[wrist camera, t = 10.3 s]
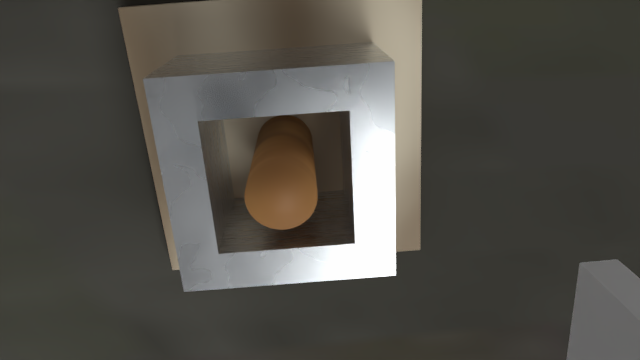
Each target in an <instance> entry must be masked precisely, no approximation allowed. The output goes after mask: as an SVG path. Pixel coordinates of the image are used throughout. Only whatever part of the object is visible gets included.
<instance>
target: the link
mask: <svg viewBox="0 0 640 360" xmlns="http://www.w3.org/2000/svg"><path fill="white" fill-rule="evenodd" d="M143 83H144V88H145V93H146V98H147V103H148V108H149V114H150V119H151V124H152V129H153V134H154V139H155V145H156V150H157V155H158V160H159V165H160V170H161V175H162V181H163V186H164V191H165V196H166V201H167V206H168V211H169V217H170V222H171V227H172V232H173V237H174V242H175V247H176V253H177V258H178V263H179V268H180V273H181V278H182V284H183V289H184V292H187V291H200V290H213V289H226V288H239V287H252V286H265V285H278V284H291V283H304V282H317V281H330V280H343V279H356V278H369V277H382V276H394V275H396V203H395V61H394V60H393V59H392V58H390V57H389V56H388V55H387V54H386V53H385V52H384V51H382V50H381V49H380V48H379V47H378V46H377V45H376V44H374V43H373V42H365V43H350V44H336V45H322V46H307V47H293V48H279V49H264V50H250V51H236V52H221V53H207V54H193V55H178V56H176V57H174V58H173V59H171V60H170V61H168V62H167V63H166V64H164V65H163V66H161V67H160V68H158V69H157V70H155V71H154V72H152V73H151V74H149V75H148V76H146V77H145V78H143ZM335 111H340V131H341V152H342V172H343V190H337V191H323V192H317V194H318V199H317V205H316V208H315V210H314V212H313V213H312V215H311V216H310V217H309V219H307V220H306V221H305V222H304V223H302V224H301V225H299V226H297V227H294V228H291V229H285V230H278V229H272V228H268V227H266V226H264V225H262V224H260V223H259V222H257V221H256V220H255V219H254V218H253V217H252V216H251V214H250V213H249V211H248V209H247V207H246V204H245V197H242V198H234V193H233V186H232V179H231V171H230V164H229V157H228V150H227V143H226V135H225V128H224V121H223V120H224V119H238V118H251V117H265V116H279V115H293V114H307V113H321V112H335Z"/></svg>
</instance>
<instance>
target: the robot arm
mask: <svg viewBox="0 0 640 360" xmlns="http://www.w3.org/2000/svg"><path fill="white" fill-rule="evenodd" d="M567 360H640V278H639V277H638V276H636V275H635V274H634V273H633V272H632V271H630V270H629V269H628V268H627V267H626V266H624V265H623V264H622V263H621V262H620V261H619V260H617V259H616V260H605V261H594V262H583V263H580V264H579V272H578V279H577V287H576V294H575V301H574V309H573V316H572V323H571V331H570V338H569V345H568V353H567Z"/></svg>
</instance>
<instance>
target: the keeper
mask: <svg viewBox="0 0 640 360" xmlns="http://www.w3.org/2000/svg"><path fill="white" fill-rule="evenodd" d="M118 11H119V16H120V21H121V25H122V30H123V35H124V40H125V45H126V49H127V54H128V59H129V64H130V69H131V73H132V78H133V83H134V88H135V93H136V97H137V102H138V107H139V112H140V117H141V121H142V126H143V131H144V136H145V141H146V145H147V150H148V155H149V160H150V165H151V169H152V174H153V179H154V184H155V189H156V193H157V198H158V203H159V208H160V213H161V217H162V222H163V227H164V232H165V237H166V241H167V246H168V251H169V256H170V261H171V265H172V270H180V268H179V263H178V258H177V253H176V247H175V242H174V237H173V232H172V227H171V222H170V217H169V211H168V206H167V201H166V196H165V191H164V186H163V181H162V175H161V170H160V165H159V160H158V155H157V150H156V145H155V139H154V134H153V129H152V124H151V119H150V114H149V108H148V103H147V98H146V93H145V88H144V83H143V78H145V77H146V76H148V75H149V74H151V73H152V72H154V71H155V70H157V69H158V68H160V67H161V66H163V65H164V64H166V63H167V62H168V61H170V60H171V59H173V58H174V57H176V56H178V55H193V54H207V53H221V52H236V51H250V50H264V49H279V48H293V47H307V46H322V45H336V44H350V43H365V42H373V43H374V44H376V45H377V46H378V47H379V48H380V49H381V50H382V51H384V52H385V53H386V54H387V55H388V56H389V57H390V58H392V59H393V60H394V61H395V203H396V252H399V251H411V250H420V211H421V63H422V0H206V1H193V2H179V3H166V4H152V5H139V6H126V7H120V8H118ZM223 121H224V128H225V135H226V143H227V150H228V157H229V164H230V171H231V179H232V186H233V193H234V198H242V197H245V204H246V207H247V209H248V211H249V213H250V214H251V216H252V217H253V218H254V219H255V220H256V221H257V222H259V223H260V224H262V225H264V226H266V227H268V228H272V229H278V230H285V229H291V228H294V227H297V226H299V225H301V224H302V223H304V222H305V221H306V220H307V219H309V217H310V216H311V215H312V213H313V212H314V210H315V208H316V205H317V199H318V194H317V192H323V191H337V190H343V172H342V152H341V131H340V111H335V112H321V113H307V114H293V115H279V116H265V117H251V118H238V119H224V120H223Z"/></svg>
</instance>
